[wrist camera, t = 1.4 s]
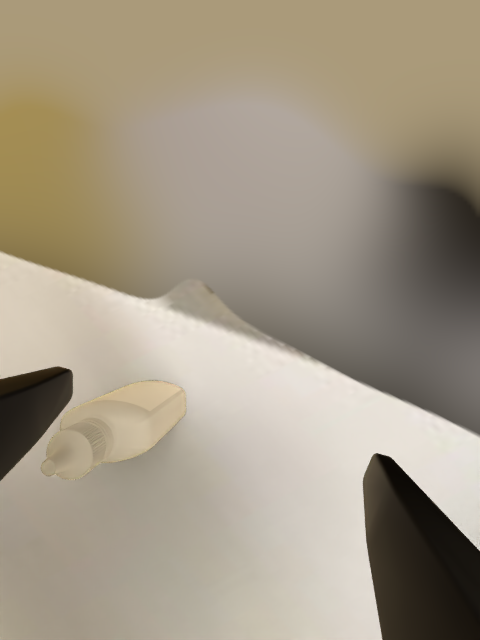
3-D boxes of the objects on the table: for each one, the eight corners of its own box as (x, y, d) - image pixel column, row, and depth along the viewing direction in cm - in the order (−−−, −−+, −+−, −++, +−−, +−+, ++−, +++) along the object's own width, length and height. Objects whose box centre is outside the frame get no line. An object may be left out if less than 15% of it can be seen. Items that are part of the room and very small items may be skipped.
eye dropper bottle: (136, 360, 26) (18, 391, 14) (196, 394, 25) (126, 457, 13) (111, 407, 26) (-26, 478, 14) (171, 442, 25) (79, 547, 14)
